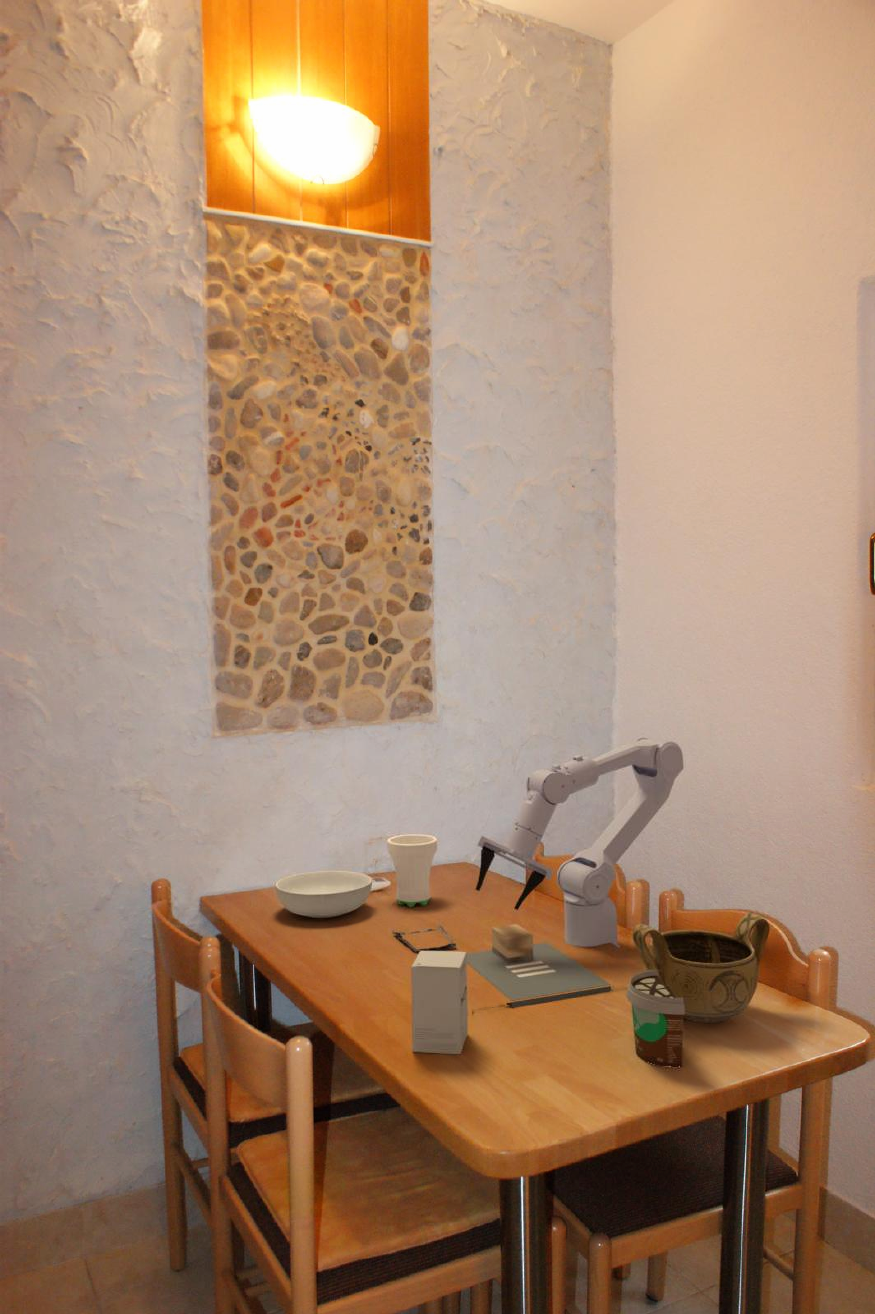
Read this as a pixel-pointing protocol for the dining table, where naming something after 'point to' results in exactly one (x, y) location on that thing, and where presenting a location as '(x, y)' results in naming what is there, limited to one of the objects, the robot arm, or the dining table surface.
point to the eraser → (512, 943)
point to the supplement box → (439, 1002)
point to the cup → (412, 866)
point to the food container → (656, 1020)
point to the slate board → (537, 976)
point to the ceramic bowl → (707, 966)
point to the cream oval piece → (323, 892)
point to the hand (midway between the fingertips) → (496, 899)
